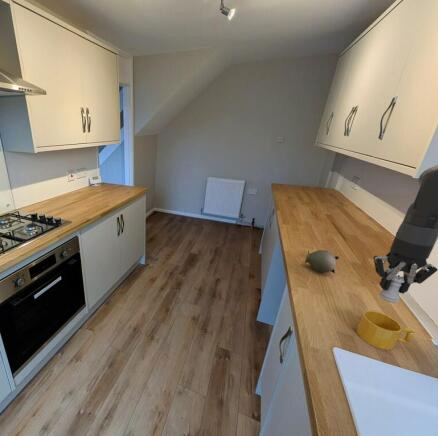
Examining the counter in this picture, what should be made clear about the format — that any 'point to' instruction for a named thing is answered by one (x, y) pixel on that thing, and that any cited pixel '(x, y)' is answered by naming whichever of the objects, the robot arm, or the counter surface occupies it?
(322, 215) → the counter surface
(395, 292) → the rook chess piece
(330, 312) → the counter surface
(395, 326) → the mug
